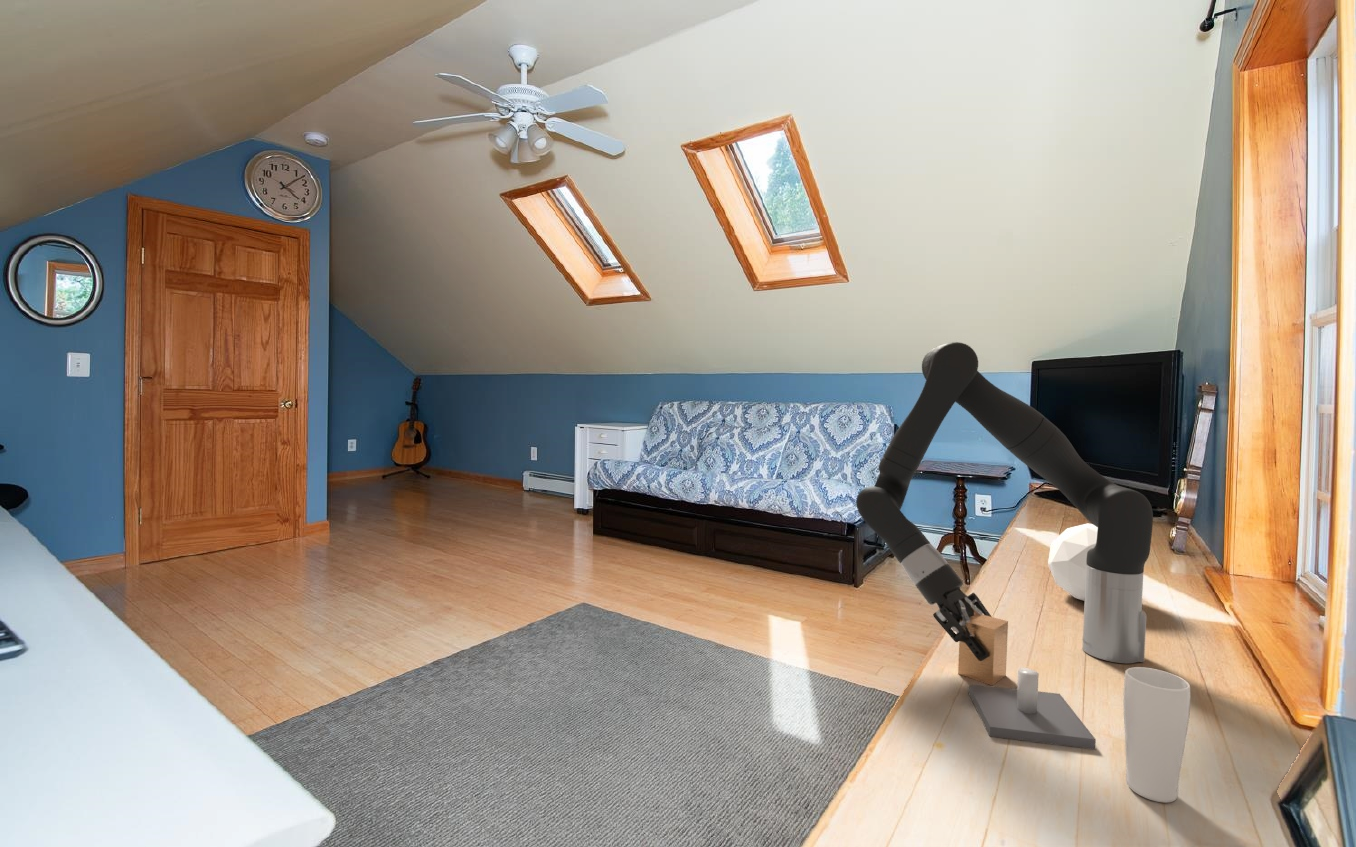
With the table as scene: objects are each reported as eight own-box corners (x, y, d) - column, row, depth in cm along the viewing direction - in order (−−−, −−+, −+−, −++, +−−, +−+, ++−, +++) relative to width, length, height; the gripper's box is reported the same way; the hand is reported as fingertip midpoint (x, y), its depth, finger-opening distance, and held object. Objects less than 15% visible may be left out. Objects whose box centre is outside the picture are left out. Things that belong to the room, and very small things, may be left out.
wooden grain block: (972, 664, 118) (974, 612, 118) (1005, 675, 114) (1008, 621, 113) (958, 673, 114) (960, 619, 113) (992, 685, 110) (994, 629, 109)
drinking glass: (1106, 776, 84) (1111, 666, 83) (1153, 774, 84) (1159, 665, 84) (1148, 810, 77) (1154, 691, 76) (1199, 807, 78) (1206, 689, 77)
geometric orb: (1093, 621, 160) (1125, 555, 164) (1140, 621, 141) (1176, 546, 145) (1021, 579, 164) (1054, 515, 169) (1058, 572, 145) (1095, 501, 150)
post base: (1059, 702, 104) (1061, 658, 103) (1095, 749, 90) (1097, 698, 90) (968, 692, 107) (969, 649, 107) (989, 736, 93) (991, 687, 93)
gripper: (926, 569, 114) (992, 654, 105) (961, 556, 123) (1024, 633, 115) (898, 591, 118) (959, 674, 110) (934, 576, 127) (993, 652, 119)
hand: (992, 653), depth 112 cm, fingers closed on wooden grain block, 6 cm apart
